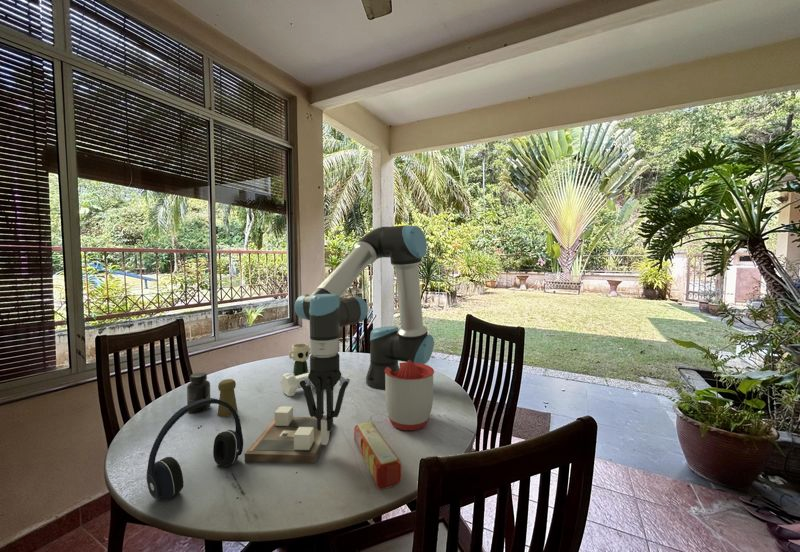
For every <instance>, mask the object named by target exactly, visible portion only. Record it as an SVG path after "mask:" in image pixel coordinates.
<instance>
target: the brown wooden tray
mask: <svg viewBox="0 0 800 552" xmlns="http://www.w3.org/2000/svg"><path fill="white" fill-rule="evenodd" d="M299 427H314V442H313V444H312V446H311V448H310V450H294V434H295V432H296V431H297V429H298V428H299ZM330 432H331V431H329V433H330ZM323 447H324V445H321V431H318V429H317V418H316V417H311V416H293V420H292V421H291V423H290V424H289V426H275V418H274V419H272V421H271V422H270V423H269V424H268V426H267V427H266V428H265V430H263V432H262V433H261V434H260V435H258V437H257V439H255V441H254V442H253V443H252V445H251V446H249V448H247V450H246V451H245V453H244V462H252V463H253V462H257V463H259V462H260V463H287V464H288V463H291V464H292V463H293V464H294V463H295V464H297V463H298V464H315V463H316V462H317V460H318V457H319V455H320V453H321V451H322V450H323Z"/></svg>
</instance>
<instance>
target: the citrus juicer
mask: <svg viewBox="0 0 800 552" xmlns="http://www.w3.org/2000/svg"><path fill="white" fill-rule="evenodd" d="M391 370H392V369H390V368H389V367H386V368H385V389H384V392H385V394H384V396H385V397H384V398H385V406H386V412H387V415H388V416H387V417H388V419H389V421H390V424H391V426H393V427H395V428H397V429H399V430H403V431H407V430H411V431H417V430H420V429H422V428H425V427H426V425H427V424H428V422H429V419H430V417H431V412H432V408H433V401H434V373H435V370H434V368H433V367H432V366H430V365H428V364H421V363H413V362H412V361H410V360H408V361H407V362H400V363H399V371H396V372H391Z"/></svg>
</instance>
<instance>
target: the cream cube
mask: <svg viewBox="0 0 800 552" xmlns="http://www.w3.org/2000/svg"><path fill="white" fill-rule="evenodd" d="M313 442H314V427H299V428H298V429H297V431H296V432H295V434H294V450H310V448H311V446H312V444H313Z"/></svg>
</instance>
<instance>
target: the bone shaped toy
mask: <svg viewBox="0 0 800 552" xmlns="http://www.w3.org/2000/svg"><path fill="white" fill-rule="evenodd" d="M309 372H310V370H308V373H305V372H304V373H303V374H302V375H295V374H294V375H293V374H292V373H290V372H287V373H284V374H283V375H282V379H281V381H280V384H281V389H282V394H285V395H286V396H288V397H292V396H294V395H295V394H296V391H297V389H298V390H299V389H303V388H302V387H301V385H300V381H301V380H302V379H303V378H306V377H308V374H309ZM310 382H311V381H310ZM310 385H311V386H313V387H314V388H315V386H314V385H313V384H312V382H311V384H310Z"/></svg>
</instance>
